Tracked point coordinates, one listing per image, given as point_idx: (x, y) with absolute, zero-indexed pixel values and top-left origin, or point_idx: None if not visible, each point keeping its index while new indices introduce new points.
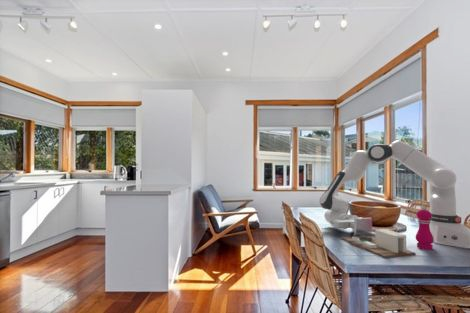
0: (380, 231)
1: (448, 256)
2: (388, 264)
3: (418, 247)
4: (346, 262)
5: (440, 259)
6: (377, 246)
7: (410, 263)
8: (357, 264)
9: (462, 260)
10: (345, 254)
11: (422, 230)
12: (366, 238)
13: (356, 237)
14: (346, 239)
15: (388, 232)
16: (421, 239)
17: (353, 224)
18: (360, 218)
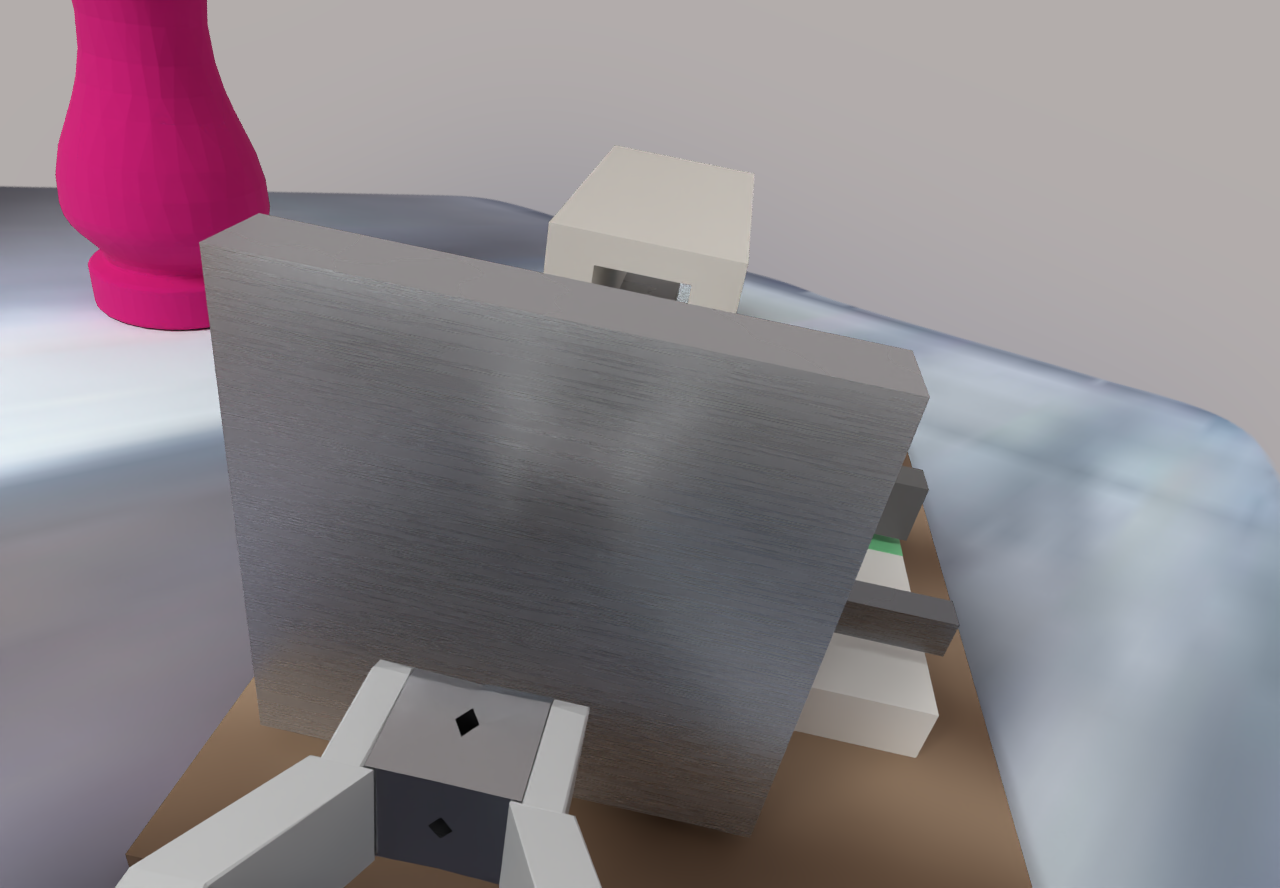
0: (749, 235)
1: (336, 224)
2: (926, 335)
3: None
4: (1250, 445)
5: (473, 239)
6: None
7: (757, 293)
8: (1165, 404)
9: (362, 198)
10: (1218, 525)
11: (221, 85)
12: None
13: (841, 666)
14: (1017, 847)
15: (695, 199)
16: (266, 199)
17: (587, 875)
18: (686, 321)
